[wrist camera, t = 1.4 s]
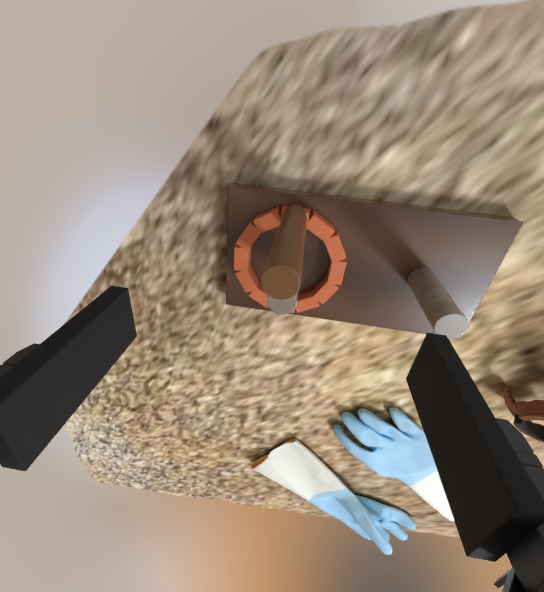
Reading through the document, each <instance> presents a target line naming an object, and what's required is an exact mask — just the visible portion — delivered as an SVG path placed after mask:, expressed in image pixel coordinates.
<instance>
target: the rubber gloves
mask: <svg viewBox="0 0 544 592" xmlns="http://www.w3.org/2000/svg"><path fill="white" fill-rule="evenodd" d="M389 413H390V416H391V418H392V420H393V422H394V423H395V425H396V426H397V427H398V429H399V430H398V429H397V428H395V427H394V426H392V425H390V424H388V423H387V422H385V421H383V420H382V419H380V418H379V417H378V416H376V415H375V414H373V413H372V412H370V411H369V410H367V409H364V408H361V409H359V410H358V416H359V418H360V419H361V421H360V420H359V419H357V418H356V417H355V416H354V415H352V414H351V413H349V412H344V413H343V414H342V415H341V419H342V421H343V422H344V424H345V425H346V427H347V428H348V429H349V430H350V432H351V433H352V434H353V435H354V436H355V437H356V438H357V439H358V440H359V441H360V442H361V443H362V444H363V445H365V446H366V447H367V448H368V449H369V450H365V449H363V448H361V447H359V446H358V445H357V444H355V443H354V442H353V441H352V440H350V439H349V438H348V437H347V436H346V435H345V432H344V430H343V428H342V427H341V426H340V425H338V424H336V425H334V426H333V431H334V433H335V435H336V436H337V437H338V439H339V440H340V442H341V443H342V444H343V445H344V447H345V448H346V449H347V450H348V451H349V452H350V453H351V454H353V455H354V456H355V457H356V458H357V459H359V460H360V461H361V462H363V463H364V464H365V465H366V466H367V467H368V468H370V469H371V470H372V471H374V472H375V473H377V474H379V475H381V476H385V477H395V478H397V479H399V480H400V481H402V482H403V483H405V484H406V485H407V486H409V487H410V488H411V489H413V490H414V491H415V492H416V493H417V494H418V495H419V496H420V497H421V498H422V499H424V500H425V501H426V502H427V503H428V504H429V505H431V506H432V507H433V508H434V509H435V510H437V511H438V512H439V513H440V514H441V515H443V516H444V517H445V518H447V519H448V520H450V521H454V518H453V515H452V512H451V509H450V506H449V503H448V500H447V497H446V494H445V491H444V488H443V485H442V483H441V480H440V477H439V474H438V471H437V468H436V465H435V462H434V459H433V456H432V453H431V450H430V447H429V444H428V442H427V439H426V436H425V433H424V431H423V430H422V429H421V428H420V427H418V426H417V425H416V424H415V423H414V422H413V421H412V420H411V419H409V418H408V417H407V416H406V415H405V414H404V413H402V412H401V411H400V410H399V409H397V408H395V407H391V408H390V409H389ZM251 468H252V469H254V470H256V471H257V472H259V473H261V474H263V475H264V476H266V477H268V478H270V479H272V480H273V481H275V482H277V483H279V484H280V485H282V486H284V487H286V488H288V489H290V490H291V491H293V492H295V493H296V494H298V495H299V496H301V497H303V498H304V499H306V500H308V501H309V502H311V503H312V504H314V505H315V506H317V507H318V508H320V509H321V510H323V511H325V512H326V513H328V514H330V515H332V516H334V517H336V518H338V519H339V520H341V521H342V522H343V523H345V524H346V525H348V526H350V527H351V528H352V529H354V530H355V531H356V532H357V533H359V534H360V535H361V536H363V537H364V538H366V539H368V540H372V541H373V542H374V543H375V544H376V545H377V546H378V547H379V548H380V550H381V551H382V552H384V553H385V554H388V555H390V554H392V546H391V544H390V543H389V542H388V540H389V538H390V537H389V534H388V532H387V530H388V531H390V532H391V533H392V534H394V535H395V536H396V537H397V538H398V539H400V540H406V539H407V533H406V531H405V530H404V529H403V528H402V527H401V526H400V525H398V524H397V523H399V524H401V525H403V526H404V527H406V528H408V529H411V530H413V529H415V528H416V523H415V521H414V520H413V519H412V518H411V517H410V516H409V515H407V514H406V513H404V512H403V511H401V510H399V509H397V508H394V507H391V506H387V505H384V504H382V503H379V502H377V501H374V500H372V499H369V498H366V497H362V496H357V495H354V494H353V493H352V492H351V491H350V490H349V489H348V488H347V487H346V486H345V485H344V484H343V483H342V482H341V481H340V480H339V478H338V477H337V476H336V475H335V474H334V473H333V472H332V471H331V470H330V469H329V468H328V467H327V466H326V465H325V464H324V463H322V462H321V461H320V460H319V459H318V458H317V457H316V456H315V455H314V454H313V453H312V452H311V451H310V450H309V449H308V448H306V447H305V446H304V445H303V444H302V443H300V442H299V441H298V440H297V439H296V438H295V439H291V440H290V441H287V442H286V443H284V444H282V445H280V446H279V447H277V448H275V449H274V450H272V451H271V452H270V453H269V454H268V455H266V456H263V457H261V458H260V459H258V460H257V461H255V462H254V463H253V464H252V466H251ZM396 522H397V523H396ZM386 529H387V530H386Z"/></svg>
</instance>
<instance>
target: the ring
mask: <svg viewBox="0 0 544 592" xmlns="http://www.w3.org/2000/svg"><path fill="white" fill-rule="evenodd" d="M309 215H310V209H307V208H303V207H302V206H300V205H290V206H283V208H282V211H281V210H280V207H279V206H278V207H276V208H273V209H271V210H269V211H266V212H264V213H262V214H259V215H257V216H255V218H254V220H253V219H252V220H251V221H250V223H249V224H248V226H247V227H246V228H245V230H244V231H243V233H242V234H241V236H240V237H239V239H238V240H237V242H236V245H235V247H234V270H237V271H236V273H235V274H236V276H237V278H238V280H239V281H240V283H241V285H242V287H243V289H244V290H245V292H246V293H247V292H250V293H249V297H251V298H252V299H254V300H256V301H257V302H259V303H260V304H262V305H263V306H265V307H266V308H268V305H267V295H269V296H270V297H272V298H274V299H278V300H285V299H289V298H291V297H293V296H294V295H296V294H297V292H298V291H299V289H300V285H301V275H302V265H303V255H304V245H305V235H306V228H307V229H308V230H309V231H311V232H312V233H313V234H314V235H316V236H317V237H318V238H320V239H321V240H322V241H324V243H325V246H326V248H327V251H328V254H329V256H330V264H329V268H328V273H327V276H326V277H325V278H324V279H323V280H322V281H321V282H320V283H319V284H318V285H317V287H316V288H315V289H314V290H311V291H308V292H305V293H302V294H299V295H298V296H297V305H296V307H295V309H296V311H297V312H298V313H299V312H302V311H305V310H309V309H312V308H315V307H319V306H320V303H322V304H324V303H325V302H326V301H327V300H328V299H329V298H330V297H331V296H332V295H333V294H334V293H335V292H336V291H337V290H338V289H339V285H341V284H342V279H343V275H344V271H345V267H346V263H347V262H346V253H345V250H344V247H343V245H342V242H341V239H340V236H339V234H338V231H337V230H336V231H335V227H334V226H333V225H332V224H331V223H329V222H328V221H327V220H326V219H324V218H323V217H322V216H320V215H319V214H318V213H317V212H315V211H313V212H312V214H311V215H310V216H309ZM277 226H279V228H278V230H277V233H276V236H275V239H274V242H273V245H272V248H271V251H270V253H269V256H268V259H267V262H266V265H265V268H264V271H263V274H262V277H261V283H260V282H259V281H258V279H257V277H256V275H255V273H254V272H253V270H252V268H251V266H250V257H251V246H252V245H253V244H254V242H255V241H256V239H257V238H258V237H259V235H260V234H261V233H263V232H265V231H268V230H270V229H273V228H275V227H277ZM295 309H294V310H295ZM294 310H293V311H291V312H290V313H294Z"/></svg>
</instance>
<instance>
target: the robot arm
mask: <svg viewBox="0 0 544 592" xmlns="http://www.w3.org/2000/svg"><path fill="white" fill-rule="evenodd" d="M136 337H137V334H136V329H135V324H134V318H133V313H132V308H131V302H130V297H129V292H128V288H123V287H117V286H111V287H109V288H108V289H107V290H106V291H105V292H103V293H102V294H101V295H100V296H98V297H97V298H96V299H95V300H94V301H92V302H91V303H90V304H89V305H87V306H86V307H85V308H84V309H83V310H81V311H80V312H79V313H78V314H76V315H75V316H74V317H73V318H72V319H70V320H69V321H68V322H67V323H65V324H64V325H63V326H62V327H61V328H59V329H58V330H57V331H56V332H55V333H53V334H52V335H51V336H50V337H48V338H47V339H46V340H45V341H43V342H42V343H41V344H32V345H30V346H28V347H26V348H24V349H22V350H20V351H18V352H16V353H15V354H14V355H13V356H11V357H10V358H9V359H8V360H6V361H5V362H4V363H3V365H0V464H1V466H3V467H6V468H11V469H16V470H21V471H26V470H27V469H28V468H29V467H30V465H31V464H32V463H33V462H34V460H35V459H36V458H37V457H38V456H39V454H40V453H41V452H42V451H43V450H44V448H45V447H46V446H47V445H48V443H49V442H50V441H51V440H52V439H53V437H54V436H55V435H56V434H57V433H58V431H59V430H60V429H61V428H62V426H63V425H64V424H65V423H66V422H67V420H68V419H69V418H70V417H71V416H72V414H73V413H74V412H75V411H76V409H77V408H78V407H79V406H80V405H81V403H82V402H83V401H84V400H85V399H86V397H87V396H88V395H89V394H90V392H91V391H92V390H93V389H94V388H95V386H96V385H97V384H98V383H99V382H100V380H101V379H102V378H103V377H104V375H105V374H106V373H107V372H108V371H109V369H110V368H111V367H112V366H113V365H114V363H115V362H116V361H117V360H118V358H119V357H120V356H121V355H122V354H123V352H124V351H125V350H126V349H127V348H128V346H129V345H130V344H131V343H132V341H133V340H134V339H135V338H136ZM406 380H407V383H408V386H409V389H410V392H411V395H412V398H413V401H414V403H415V406H416V409H417V412H418V415H419V418H420V421H421V424H422V427H423V430H424V433H425V436H426V439H427V442H428V444H429V447H430V450H431V453H432V456H433V459H434V462H435V465H436V468H437V471H438V474H439V477H440V480H441V483H442V485H443V488H444V491H445V494H446V497H447V500H448V503H449V506H450V509H451V512H452V515H453V518H454V521H455V524H456V527H457V529H458V532H459V535H460V538H461V541H462V544H463V547H464V550H465V553H466V556H469V557H473V558H479V559H483V560H489V561H494V562H495V561H497V560H498V559H499V558H500V557H501V556H503V555H504V554H505V553H507V555H508V558H509V560H510V562H511V565H512V567H513V568H511V569H510V570H509V571H507V572H506V573H505V574H503V575H502V576H501V577H499V578H498V579H497V580H496V582H495V583H494V585H495V586H496V587H498V588H499V587H501V586H502V585H504V588H503V591H502V592H544V469H543V468H542V464H541V462H540V461H539V459H538V458H537V456H536V455H534V454H533V452H534V451H533V450H532V448H531V447H530V445H529V444H528V442H527V441H526V439H525V438H524V436H523V435H522V434H521V433H520V432H519V431H518V430H517V429H516V428H515V427H514V426H513V425H512V424H511V423H510V422H509V421H508V420H504V419H498V418H495V417H494V415H493V414H492V412H491V410H490V408H489V407H488V405H487V403H486V402H485V400H484V398H483V397H482V395H481V393H480V392H479V390H478V388H477V387H476V385H475V383H474V382H473V380H472V378H471V376H470V375H469V373H468V371H467V370H466V368H465V366H464V365H463V363H462V361H461V360H460V358H459V356H458V355H457V353H456V351H455V349H454V348H453V346H452V344H451V343H450V341H449V339H448V338H447V336H446V335H441V334H434V333H428V332H427V334H426V337H425V339H424V341H423V343H422V345H421V347H420V350H419V352H418V354H417V356H416V358H415V360H414V363H413V365H412V367H411V369H410V371H409V374H408V376H407V378H406Z"/></svg>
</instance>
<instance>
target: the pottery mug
mask: <svg viewBox="0 0 544 592" xmlns="http://www.w3.org/2000/svg"><path fill="white" fill-rule="evenodd" d="M503 391H504V398H505V404H506V406H507V407H508V409H509V411H510V412H511V413H512V415H513V416H514V417H515V419H514V425H515V426H516V428H518V429H519V430H520V431H521V432H523V433H524V434H526V435H528V436H531V437H532V438H534V439H537V440H539V441H542V442H544V426H543V425H540V424H536V423H535V424H534V423H532V422H531V421H530V420H544V400H533V401H529V402H526V401H521V402H515V400H514V399H513V397H512V394H511V389H510V387H508V386H505V387H504V390H503Z"/></svg>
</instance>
